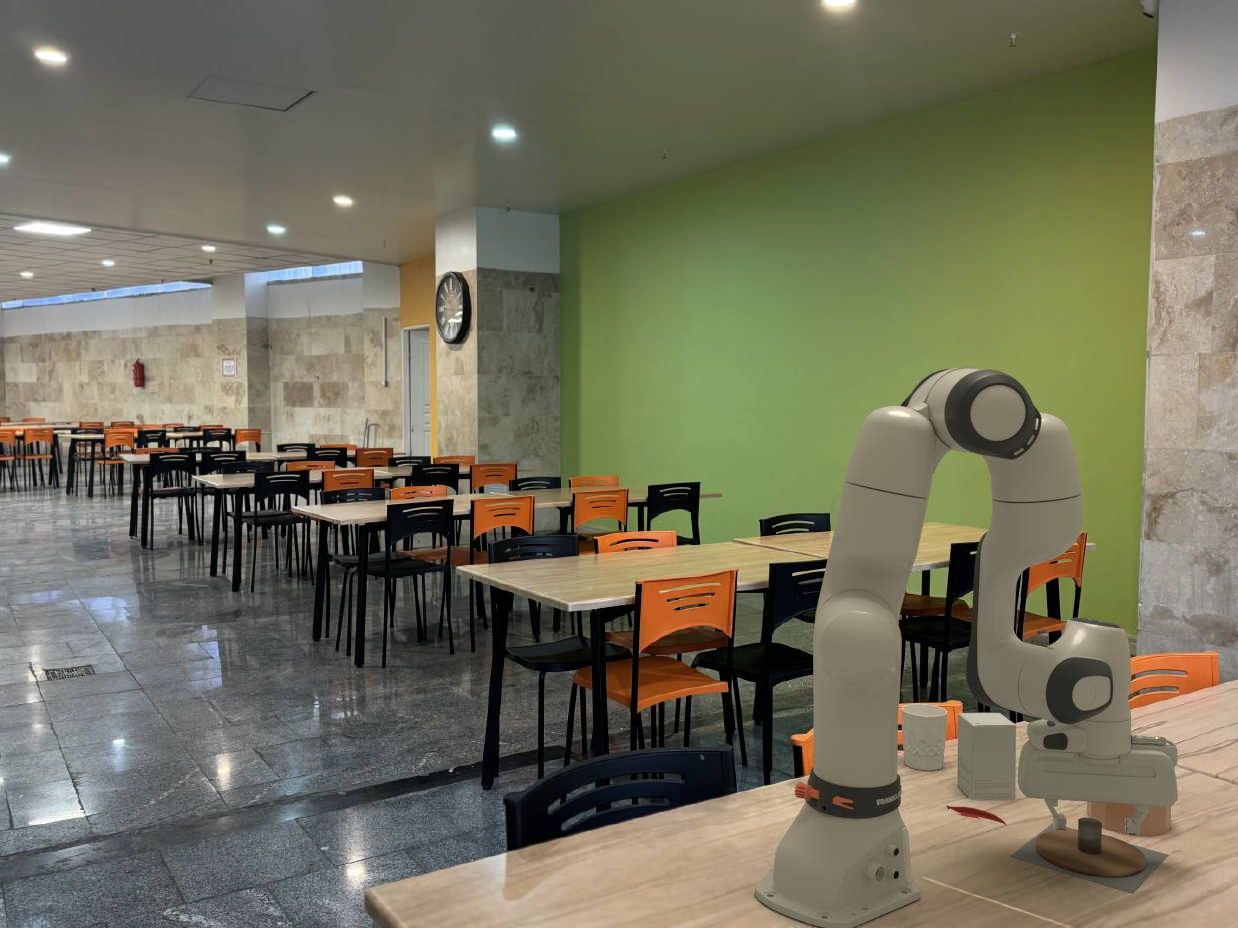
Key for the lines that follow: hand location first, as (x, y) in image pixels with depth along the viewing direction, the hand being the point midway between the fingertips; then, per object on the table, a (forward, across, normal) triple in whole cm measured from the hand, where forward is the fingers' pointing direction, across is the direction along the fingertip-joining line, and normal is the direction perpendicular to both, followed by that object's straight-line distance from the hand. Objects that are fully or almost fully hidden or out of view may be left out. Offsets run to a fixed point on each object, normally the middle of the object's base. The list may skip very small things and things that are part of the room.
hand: (1095, 831), depth 139 cm
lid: (+4, +1, 0) cm, 4 cm away
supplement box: (+4, +12, -23) cm, 26 cm away
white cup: (+4, +20, -36) cm, 41 cm away
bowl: (+4, -8, -15) cm, 18 cm away
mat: (+4, +1, 0) cm, 4 cm away
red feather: (+4, +14, -12) cm, 19 cm away
